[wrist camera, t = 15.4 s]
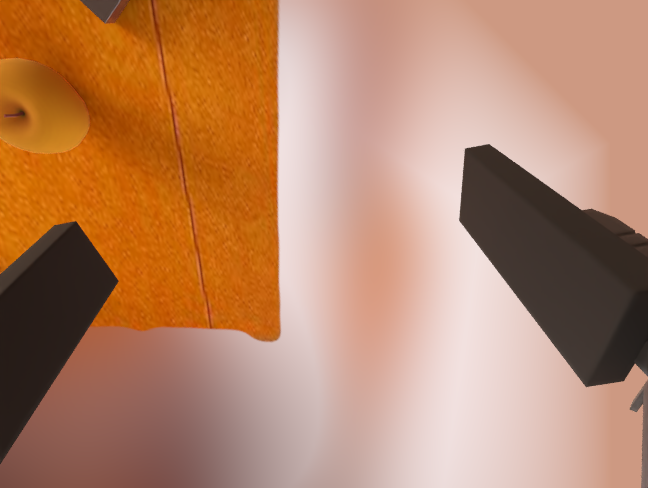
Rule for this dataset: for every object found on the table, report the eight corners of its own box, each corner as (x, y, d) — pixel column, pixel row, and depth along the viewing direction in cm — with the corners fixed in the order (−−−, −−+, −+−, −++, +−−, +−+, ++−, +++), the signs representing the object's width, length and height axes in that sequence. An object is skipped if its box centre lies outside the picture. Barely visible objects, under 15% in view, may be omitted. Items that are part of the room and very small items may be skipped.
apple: (123, 99, 38) (81, 119, 31) (86, 154, 41) (40, 184, 34) (38, 32, 34) (-34, 36, 27) (5, 99, 37) (-69, 119, 30)
